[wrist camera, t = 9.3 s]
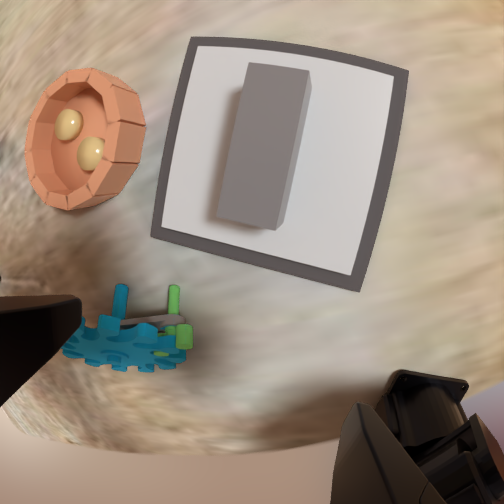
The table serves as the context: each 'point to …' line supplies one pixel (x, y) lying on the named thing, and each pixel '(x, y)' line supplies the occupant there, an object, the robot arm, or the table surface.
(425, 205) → the table surface
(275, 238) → the lid
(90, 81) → the dish
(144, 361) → the gear
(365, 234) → the mat
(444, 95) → the table surface
